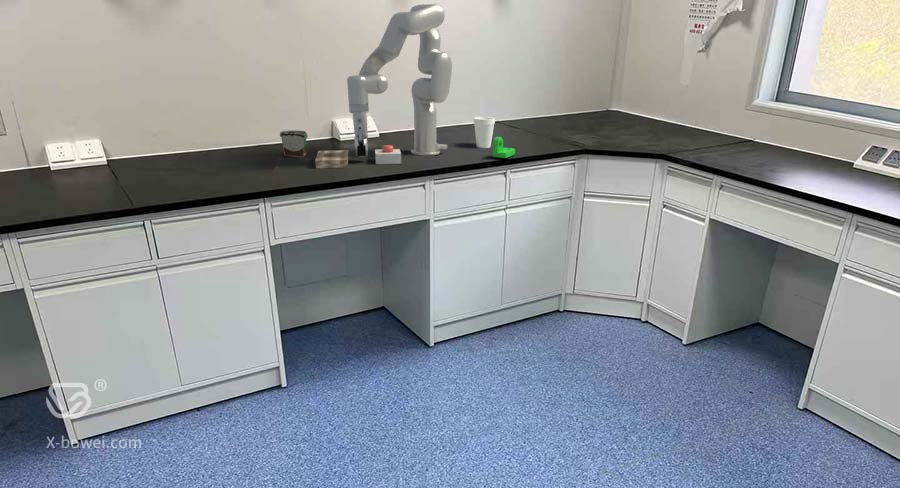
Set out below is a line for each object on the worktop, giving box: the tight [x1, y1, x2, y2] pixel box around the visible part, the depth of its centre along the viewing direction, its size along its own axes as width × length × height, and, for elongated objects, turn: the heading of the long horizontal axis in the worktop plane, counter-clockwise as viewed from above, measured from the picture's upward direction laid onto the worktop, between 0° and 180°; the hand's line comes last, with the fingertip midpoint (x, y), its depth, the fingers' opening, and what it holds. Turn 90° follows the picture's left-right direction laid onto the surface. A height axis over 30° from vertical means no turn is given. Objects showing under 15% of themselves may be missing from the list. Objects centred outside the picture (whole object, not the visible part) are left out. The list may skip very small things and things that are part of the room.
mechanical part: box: [492, 136, 516, 159], centre depth 258 cm, size 12×6×8 cm, turn 151°
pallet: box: [314, 149, 349, 169], centre depth 239 cm, size 12×20×3 cm, turn 8°
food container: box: [279, 130, 308, 158], centre depth 252 cm, size 12×6×10 cm, turn 71°
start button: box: [381, 144, 394, 152], centre depth 241 cm, size 4×4×2 cm
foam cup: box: [473, 116, 496, 149], centre depth 274 cm, size 10×9×13 cm
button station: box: [374, 148, 402, 165], centre depth 242 cm, size 10×10×4 cm
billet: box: [354, 136, 369, 159], centre depth 240 cm, size 5×5×8 cm
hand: (361, 153), depth 241 cm, fingers closed on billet, 5 cm apart
